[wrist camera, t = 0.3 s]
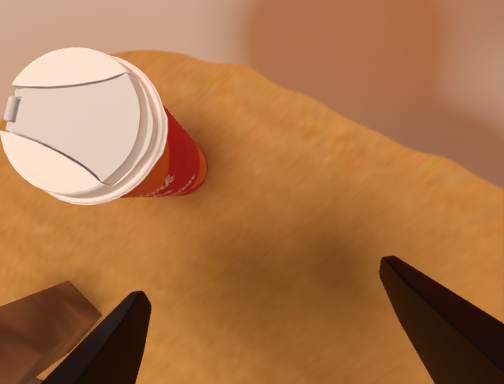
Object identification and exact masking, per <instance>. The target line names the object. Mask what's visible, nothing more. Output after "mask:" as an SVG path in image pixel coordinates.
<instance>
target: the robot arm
mask: <svg viewBox="0 0 504 384" xmlns="http://www.w3.org/2000/svg"><path fill="white" fill-rule="evenodd" d="M379 275H380V279H381V281H382V283H383V286H384V288H385V290H386V292H387V295H388V297H389V299H390V301H391V304H392V306H393V308H394V310H395V313H396V315H397V317H398V319H399V321H400V323H401V325H402V327H403V329H404V330H405V332H406V334H407V336H408V337H409V339H410V341H411V343H412V344H413V346H414V348H415V350H416V351H417V353H418V355H419V357H420V358H421V360H422V362H423V364H424V366H425V367H426V369H427V371H428V373H429V374H430V376H431V378H432V380H433V381H434V383H435V384H504V323H502V322H500V321H499V320H497V319H496V318H494V317H492V316H491V315H489V314H488V313H486V312H484V311H483V310H481V309H480V308H478V307H476V306H475V305H473V304H472V303H470V302H468V301H467V300H465V299H463V298H462V297H460V296H459V295H457V294H455V293H454V292H452V291H451V290H449V289H447V288H446V287H444V286H443V285H441V284H439V283H438V282H436V281H435V280H433V279H431V278H430V277H428V276H426V275H425V274H423V273H422V272H420V271H418V270H417V269H415V268H414V267H412V266H410V265H409V264H407V263H406V262H404V261H402V260H401V259H399V258H398V257H396V256H385V257H382V259H381V264H380V271H379ZM150 315H151V303H150V301H149V300H148V298H147V296H146V294H145V293H144V292H143V291H134V292H131V293H130V294H129V295H128V296H127V297H126V298H125V299H124V300H123V301H122V302H121V303H120V304H119V305H118V306H117V307H116V308H115V309H114V310H113V311H112V312H111V313H110V314H109V315H108V316H107V317H106V318H105V319H104V320H103V321H102V322H101V323H100V324H99V325H98V326H97V327H96V328H95V329H94V330H93V331H92V332H91V333H90V334H89V335H88V336H87V337H86V338H85V339H84V340H83V341H82V342H81V343H80V344H79V345H78V346H77V347H76V348H75V349H74V350H73V351H72V352H71V353H70V354H69V355H68V356H67V357H66V358H65V359H64V360H63V361H62V362H61V363H60V364H59V365H58V366H57V367H56V368H55V369H54V370H53V371H52V372H51V373H50V374H49V375H48V376H47V377H46V378H45V379H44V380H43V381H42V382H41V383H40V384H135V382H136V379H137V375H138V371H139V368H140V364H141V361H142V357H143V353H144V348H145V343H146V337H147V332H148V326H149V320H150Z"/></svg>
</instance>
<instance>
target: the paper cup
mask: <svg viewBox="0 0 504 384" xmlns="http://www.w3.org/2000/svg"><path fill="white" fill-rule="evenodd" d="M12 85H13V86H14V87H16V88H18V89H16V90H15V94H14V97H13V96H9V99H8V103H7V107H6V111H5V115H4V119H3V120H7V121H8V122H7V126H6V130H8V131H10V133H9V132H4V131H0V134H1V141H2V144H3V148H4V151H5V153H6V155H7V157H8V159H9V161H10V163H11V164H12V166H13V167H14V168H15V170H16V171H17V172H18V173H19V174H20V175H21V176H22V177H23V178H24V179H26V180H27V181H28V182H30V183H31V184H32V185H34V186H36V187H38V188H40V189H42V190H44V191H46V192H47V193H49V194H50V195H52V196H54V197H56V198H58V199H60V200H62V201H66V202H69V203H73V204H81V205H92V204H100V203H105V202H109V201H112V200H114V199H117V198H127V197H160V196H179V195H186V194H189V193H191V192H193V191H195V190H196V189H197V188H199V187H200V185H201V184H202V183H203V181H204V179H205V177H206V173H207V163H206V159H205V156H204V155H203V153H202V151H201V150H200V149H199V147H198V146H197V145H196V143H195V142H194V141H193V140H192V139H191V137H190V136H189V135H188V134H187V133H186V131H185V130H184V129H183V128H182V127H181V126H180V124H179V123H178V122H177V121H176V120H175V118H174V117H173V116H172V115H171V114H170V113H169V111H168V110H167V109H166V108H165V107H164V106H163V104H162V102H161V99H160V96H159V94H158V92H157V90H156V89H155V87H154V85H153V84H152V82H151V81H150V80H149V79H148V77H147V76H146V75H145V74H144V73H143V72H142V71H140V70H139V69H138V68H137V67H135V66H134V65H132V64H131V63H129V62H127V61H125V60H123V59H120V58H118V57H114V56H110V55H107V54H105V53H102V52H100V51H96V50H92V49H88V48H77V47H75V48H64V49H60V50H56V51H52V52H50V53H47V54H45V55H43V56H41V57H39V58H38V59H36V60H34V61H33V62H32V63H31V64H29V65H28V66H27V67H26V68H25V69H24V70H23V71H22V72H21V73H20V74H19V75H18V76H17V78H16V79H15V80H14V82H13V83H12Z"/></svg>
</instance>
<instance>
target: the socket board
mask: <svg viewBox="0 0 504 384" xmlns="http://www.w3.org/2000/svg"><path fill="white" fill-rule="evenodd" d="M41 382H42V381H40V380H38V379H35V378H33V379H32V380H31V381H29V382H28V383H27V384H40V383H41Z"/></svg>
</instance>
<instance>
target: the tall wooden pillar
mask: <svg viewBox="0 0 504 384" xmlns="http://www.w3.org/2000/svg"><path fill="white" fill-rule="evenodd" d="M101 316H102V315H101V314H100V313H99V312H98V310H97V309H96V308H95V307H94V306H93V305H92V304H91V303H90V302H89V301H88V300H87V299H86V298H85V297H84V296H83V295H82V294H81V293H80V292H79V291H78V290H77V289H76V288H75V287H74V286H73V285H72V284H71V283H70V282H69V281H67V282H64V283H62V284H59V285H56V286H54V287H51V288H48V289H46V290H43V291H41V292H38V293H35V294H33V295H30V296H27V297H25V298H22V299H19V300H17V301H14V302H11V303H9V304H6V305H3V306H1V307H0V384H27V383H28V382H29V381H31V380H32V379H33V378H35V377H36V376H38V375H39V374H40V373H42V372H43V371H44V370H46V369H47V368H48V367H50V366H51V365H52V364H54V363H55V362H56V361H58V360H59V359H61V358H62V357H63V356H65V355H66V354H67V353H69V352H70V351H71V350H72V348H73V347H74V346H75V345H76V344H77V343H78V342H79V340H80V339H81V338H82V337H83V336H84V335H85V334H86V333H87V331H88V330H89V329H90V328H91V327H92V326H93V325H94V324H95V322H96V321H97V320H98V319H99V318H100V317H101Z"/></svg>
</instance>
